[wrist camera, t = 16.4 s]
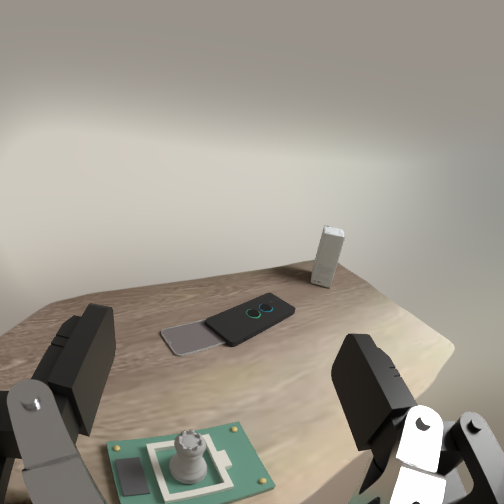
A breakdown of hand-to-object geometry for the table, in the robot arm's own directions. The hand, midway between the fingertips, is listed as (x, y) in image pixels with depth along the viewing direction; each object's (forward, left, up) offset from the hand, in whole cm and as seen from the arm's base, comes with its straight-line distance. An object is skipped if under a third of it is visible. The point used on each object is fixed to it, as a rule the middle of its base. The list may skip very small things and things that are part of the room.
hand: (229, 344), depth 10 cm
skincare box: (+52, +50, -30) cm, 79 cm away
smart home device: (+25, +37, -31) cm, 54 cm away
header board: (+2, +8, -30) cm, 31 cm away
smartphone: (+13, +34, -31) cm, 48 cm away
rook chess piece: (+2, +8, -29) cm, 30 cm away
